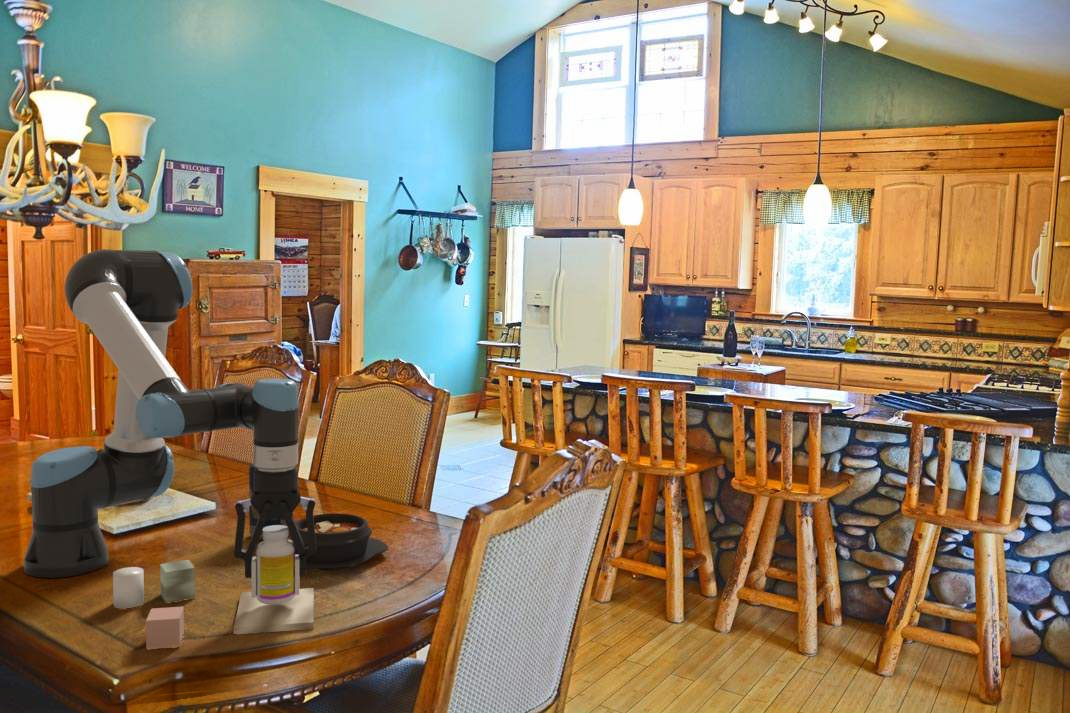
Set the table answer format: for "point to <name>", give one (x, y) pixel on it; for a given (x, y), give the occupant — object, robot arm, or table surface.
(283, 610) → the birch board
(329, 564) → the casserole
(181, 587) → the sage block
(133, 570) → the white domed cylinder
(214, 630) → the table surface
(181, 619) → the terracotta block
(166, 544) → the table surface
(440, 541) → the table surface
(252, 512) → the canister
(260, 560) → the supplement bottle
